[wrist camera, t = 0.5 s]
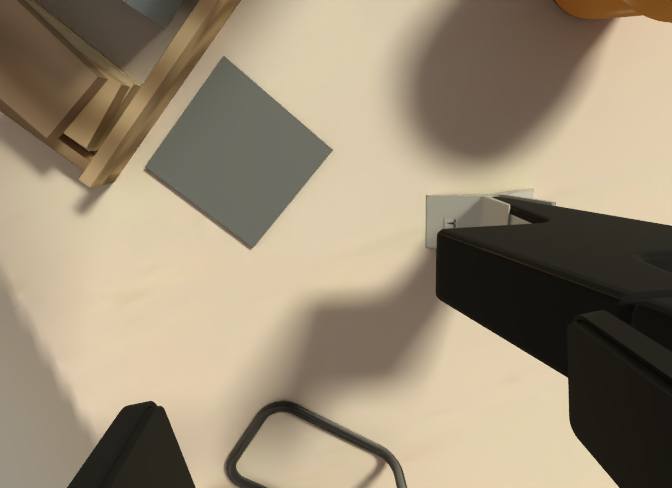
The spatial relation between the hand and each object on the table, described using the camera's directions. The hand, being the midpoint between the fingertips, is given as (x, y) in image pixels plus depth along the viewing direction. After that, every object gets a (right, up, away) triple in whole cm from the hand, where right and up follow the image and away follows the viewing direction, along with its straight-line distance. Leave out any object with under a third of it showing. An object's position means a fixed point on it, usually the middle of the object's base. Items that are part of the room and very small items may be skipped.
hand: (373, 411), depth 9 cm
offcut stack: (-24, +18, +24) cm, 39 cm away
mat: (-10, +12, +27) cm, 31 cm away
